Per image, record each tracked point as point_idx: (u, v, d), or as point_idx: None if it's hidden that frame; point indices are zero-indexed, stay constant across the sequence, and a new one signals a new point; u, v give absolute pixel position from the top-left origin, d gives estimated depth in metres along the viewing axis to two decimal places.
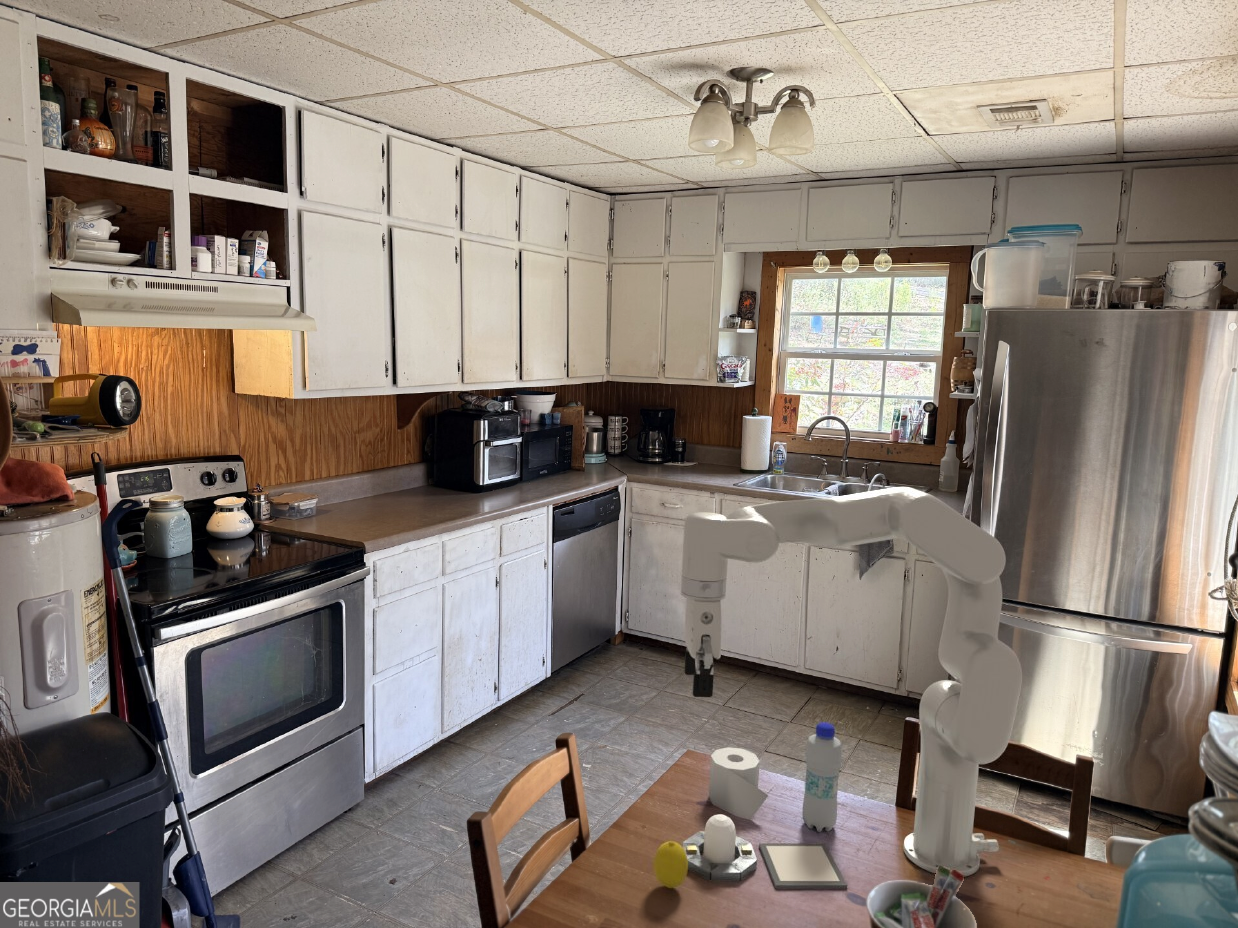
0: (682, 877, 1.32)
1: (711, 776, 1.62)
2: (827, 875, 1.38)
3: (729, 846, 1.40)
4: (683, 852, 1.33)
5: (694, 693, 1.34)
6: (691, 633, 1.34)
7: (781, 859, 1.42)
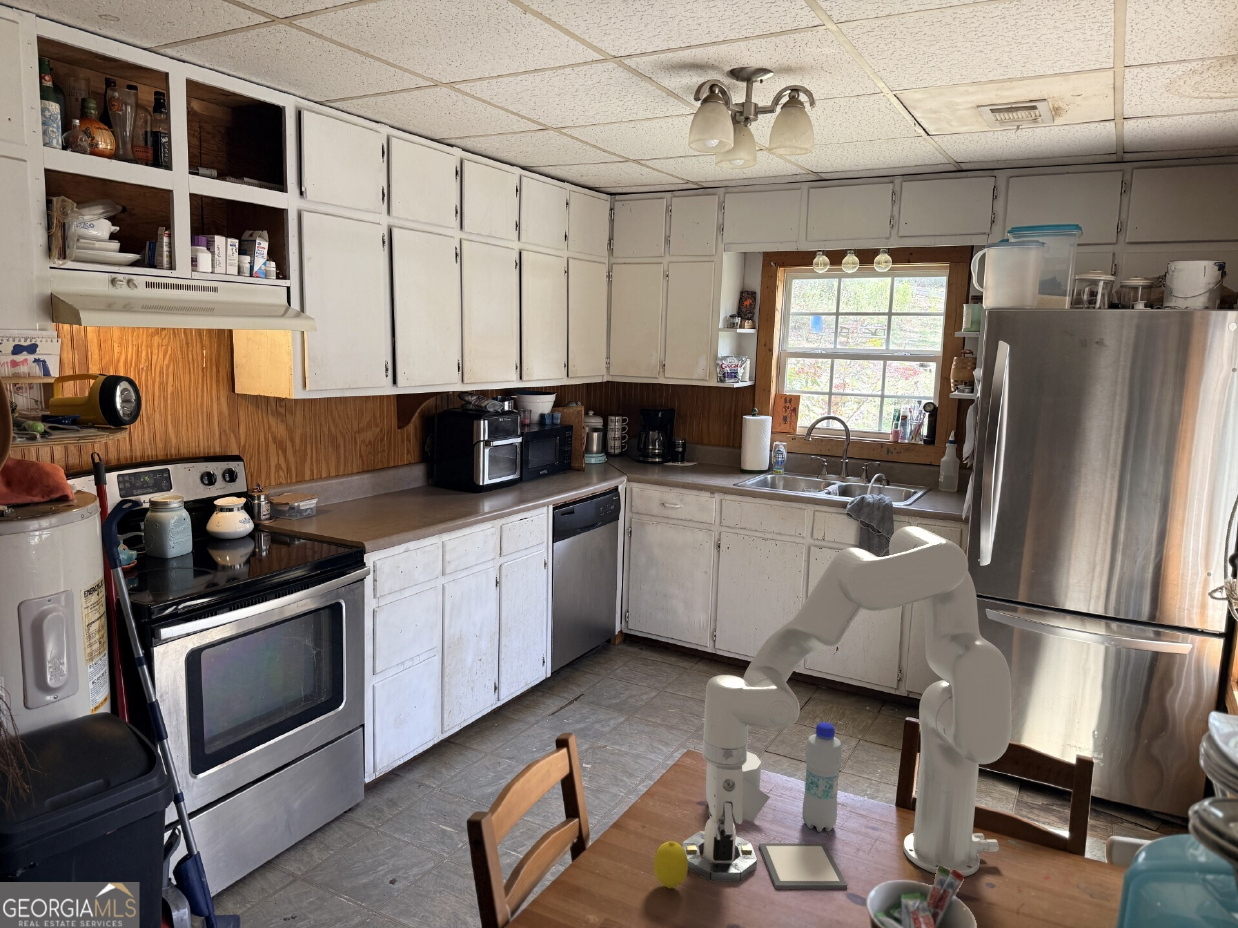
0: (682, 877, 1.32)
1: None
2: (827, 875, 1.38)
3: None
4: (683, 852, 1.33)
5: (714, 857, 1.39)
6: (713, 798, 1.37)
7: (781, 859, 1.42)
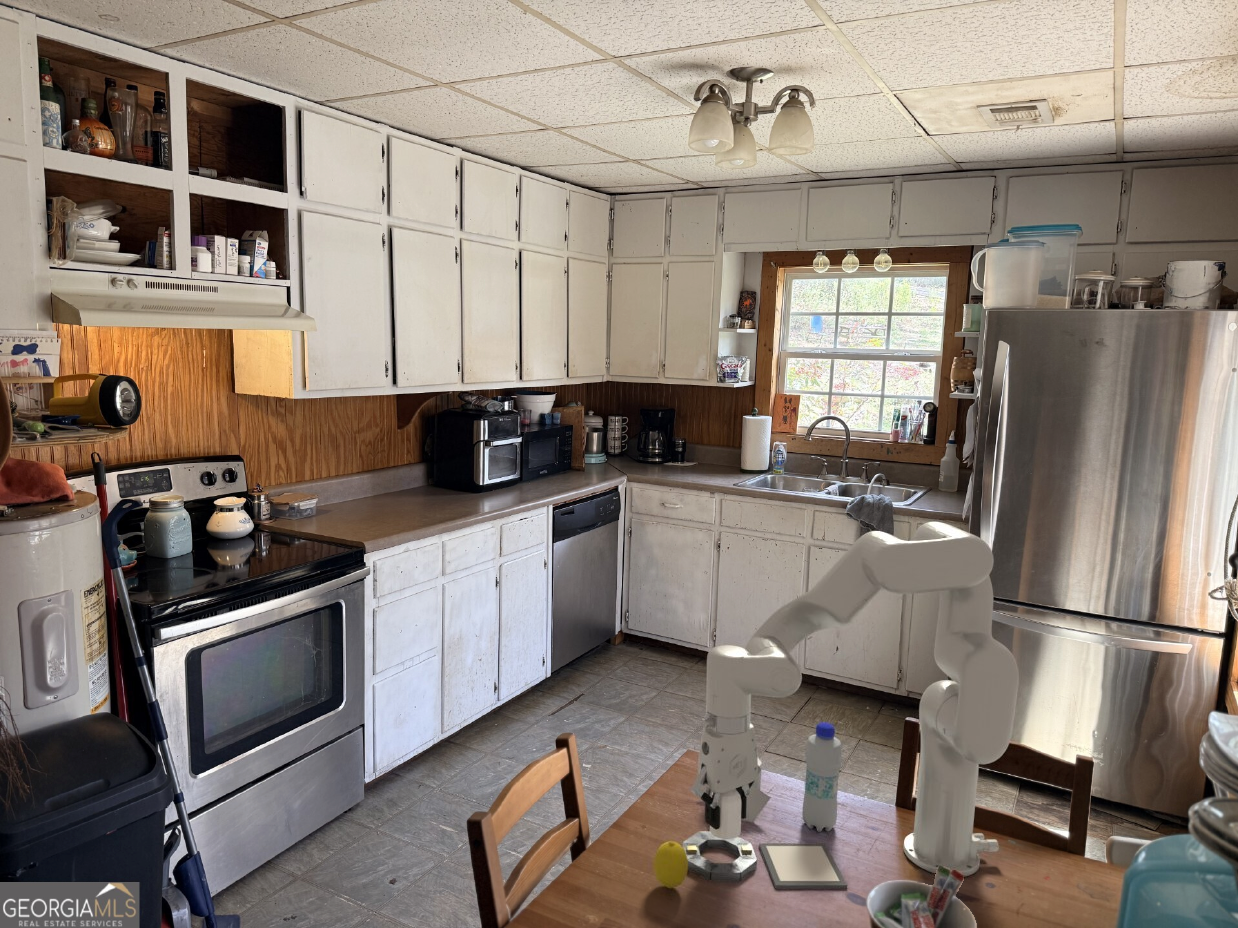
0: (682, 877, 1.32)
1: None
2: (827, 875, 1.38)
3: (720, 816, 1.39)
4: (683, 852, 1.33)
5: None
6: None
7: (781, 859, 1.42)
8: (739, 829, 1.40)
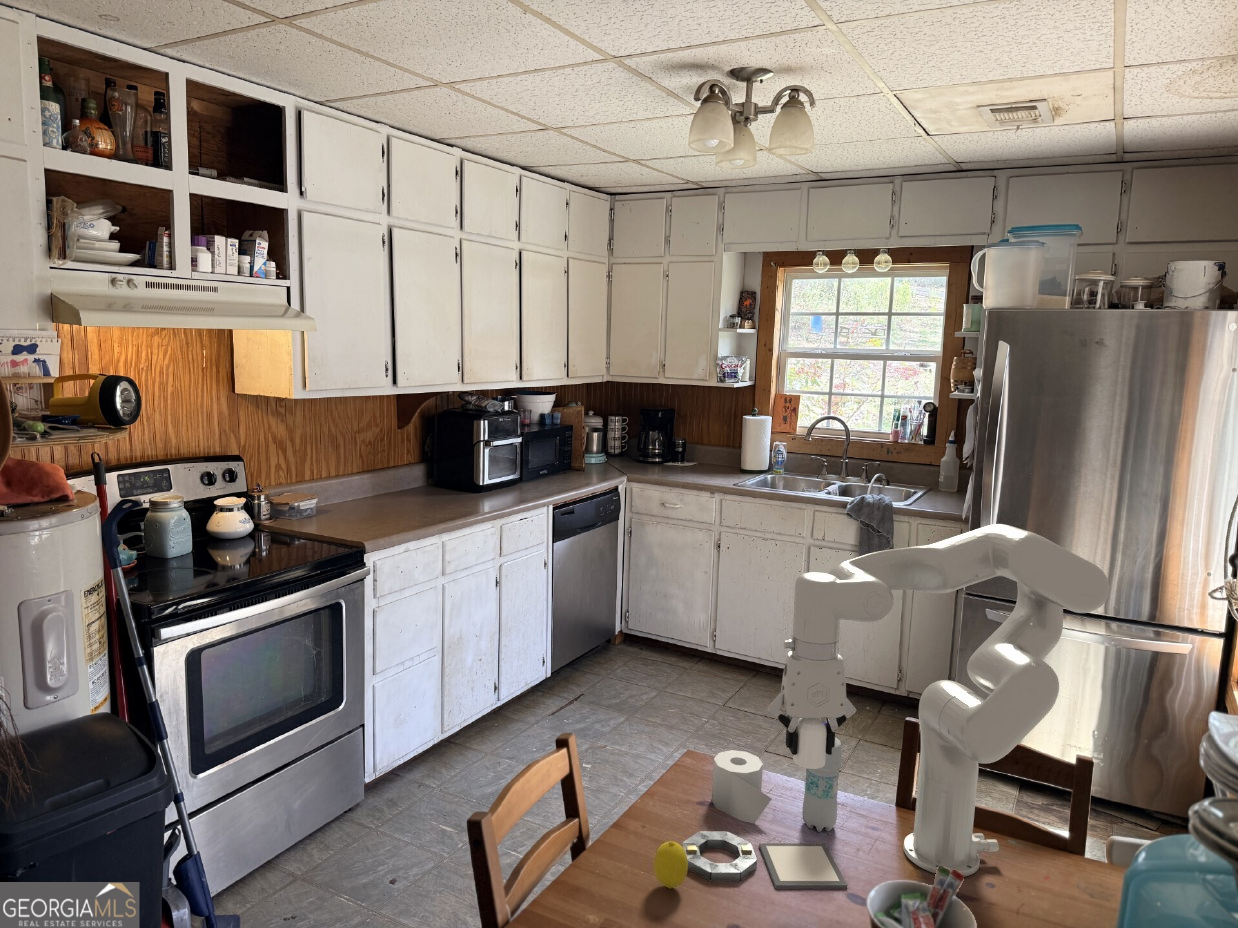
0: (682, 877, 1.32)
1: (714, 779, 1.61)
2: (827, 875, 1.38)
3: (798, 743, 1.37)
4: (683, 852, 1.33)
5: None
6: None
7: (781, 859, 1.42)
8: (820, 762, 1.37)
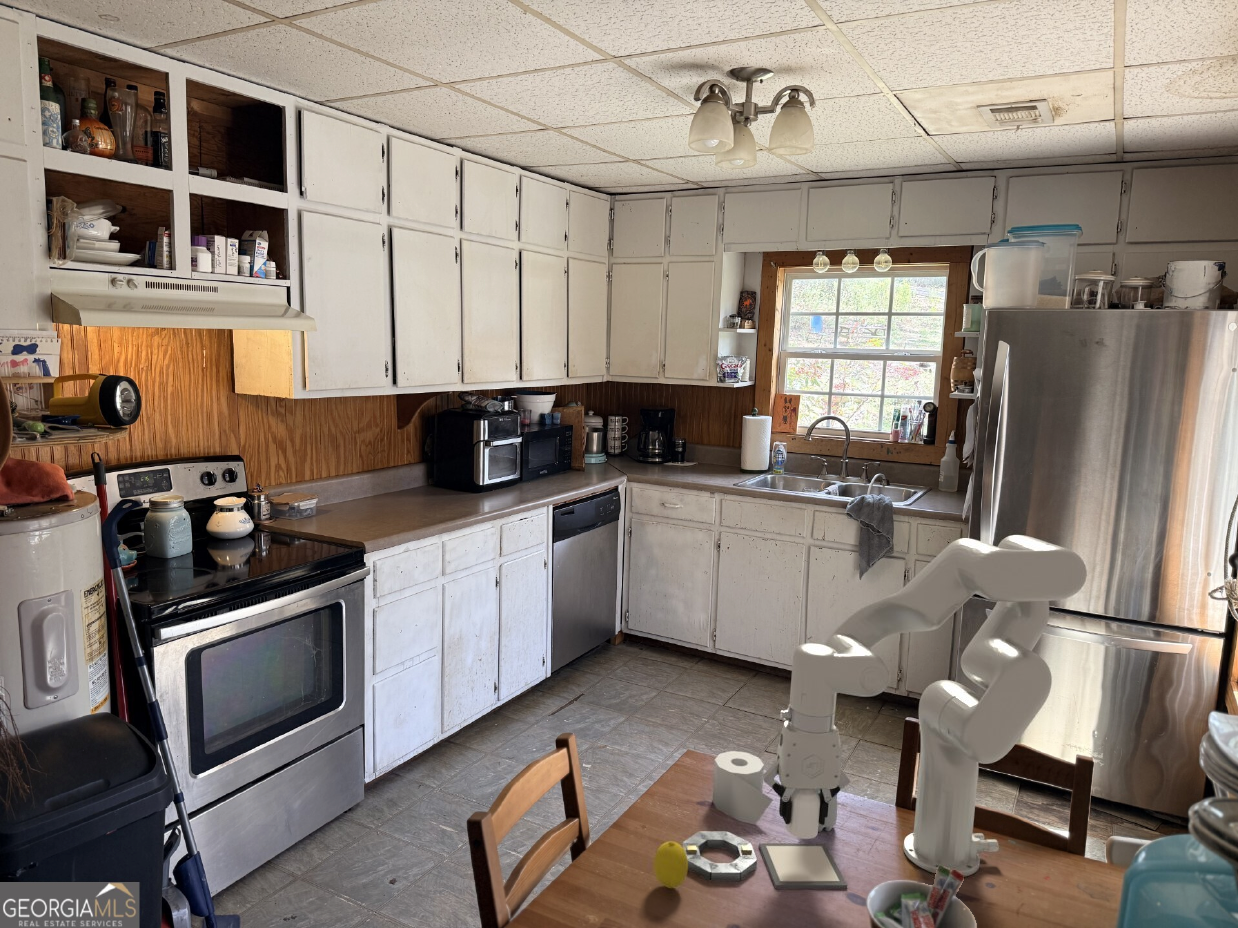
0: (682, 877, 1.32)
1: (715, 780, 1.60)
2: (827, 875, 1.38)
3: (792, 812, 1.38)
4: (683, 852, 1.33)
5: None
6: None
7: (781, 859, 1.42)
8: (812, 832, 1.38)
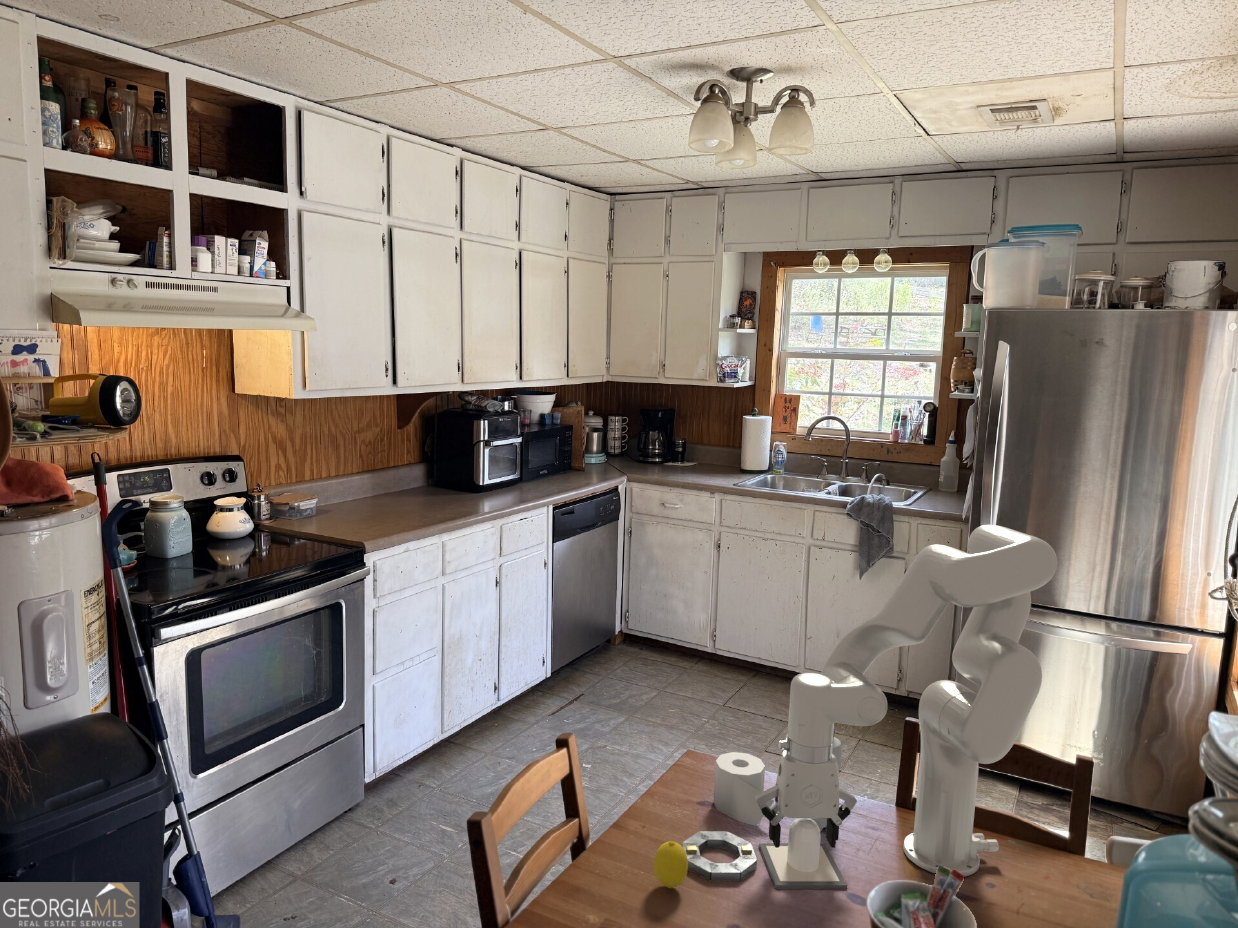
0: (682, 877, 1.32)
1: (716, 781, 1.60)
2: (827, 875, 1.38)
3: (793, 845, 1.39)
4: (683, 852, 1.33)
5: None
6: None
7: (781, 859, 1.42)
8: (813, 865, 1.39)
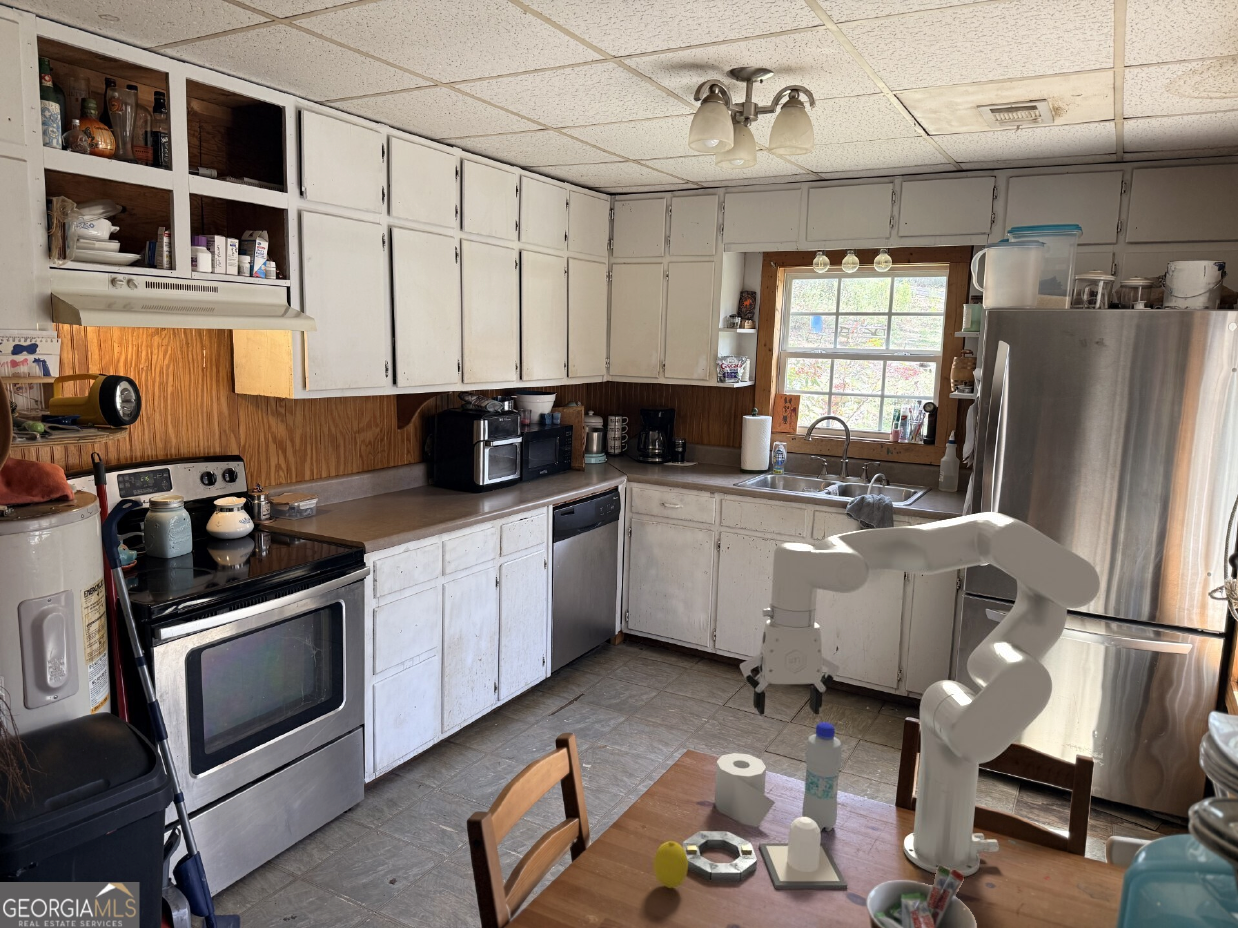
0: (682, 877, 1.32)
1: (716, 782, 1.60)
2: (827, 875, 1.38)
3: (793, 845, 1.39)
4: (683, 852, 1.33)
5: None
6: None
7: (781, 859, 1.42)
8: (813, 865, 1.39)
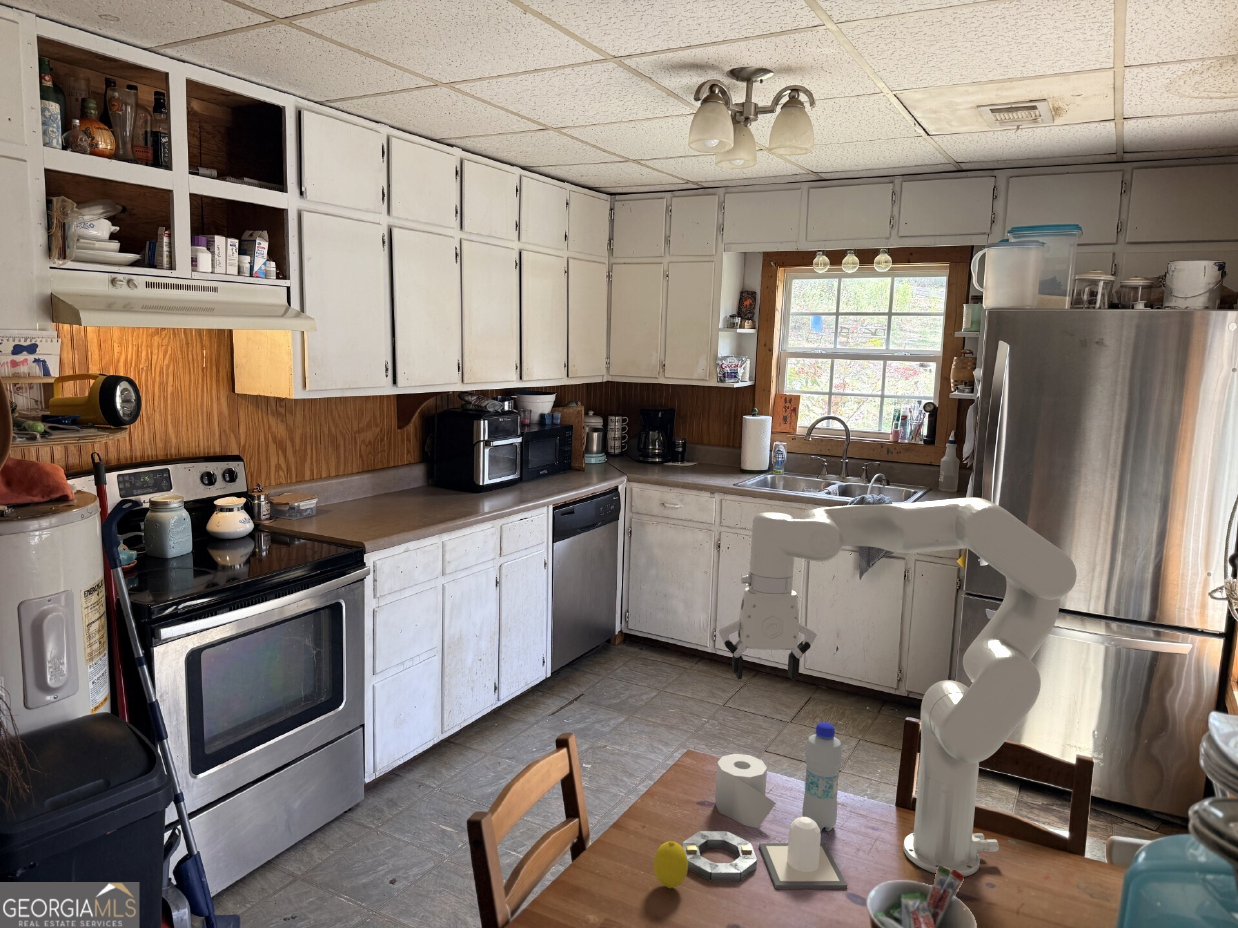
0: (682, 877, 1.32)
1: (717, 783, 1.59)
2: (827, 875, 1.38)
3: (793, 845, 1.39)
4: (683, 852, 1.33)
5: None
6: None
7: (781, 859, 1.42)
8: (813, 865, 1.39)
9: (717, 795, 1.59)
